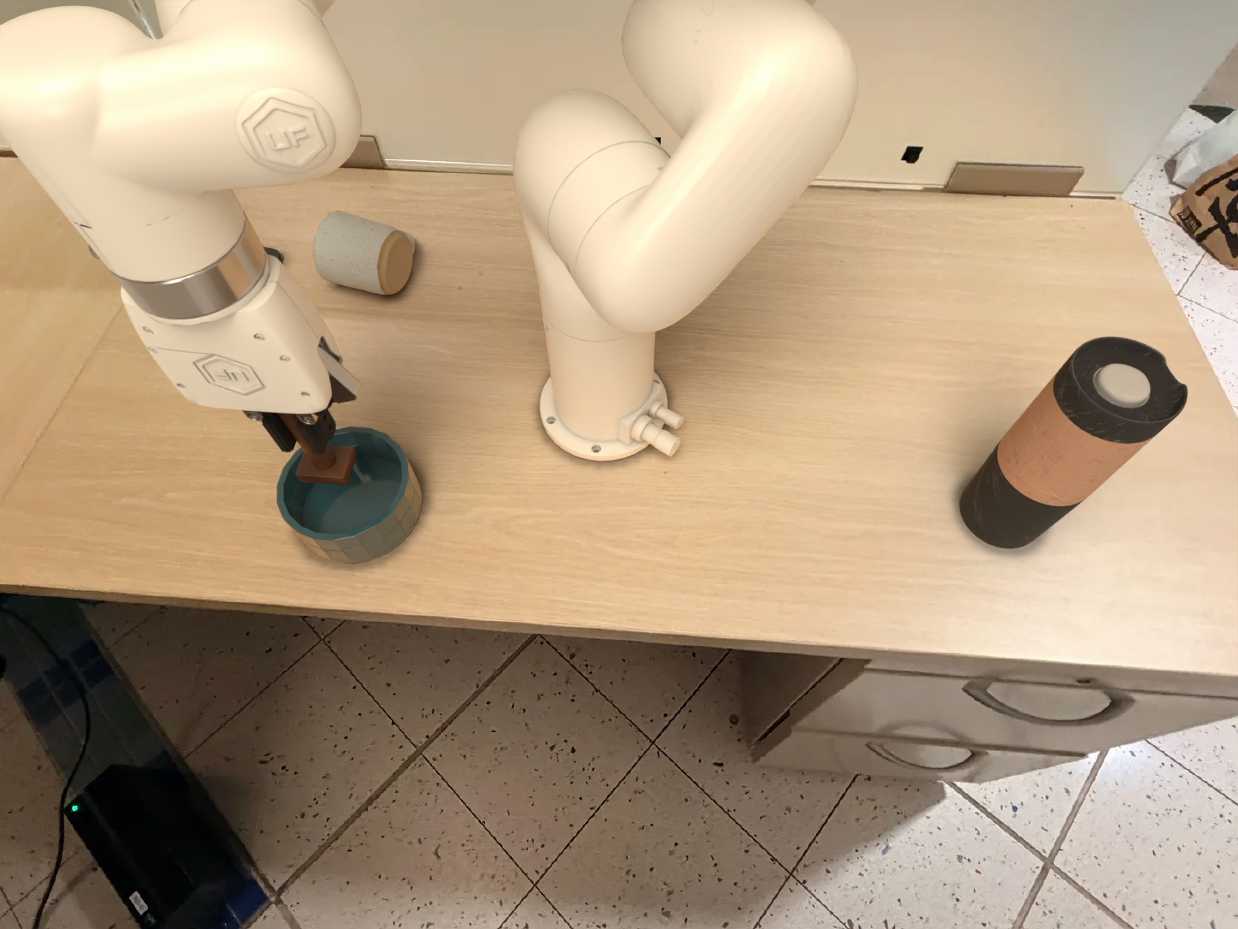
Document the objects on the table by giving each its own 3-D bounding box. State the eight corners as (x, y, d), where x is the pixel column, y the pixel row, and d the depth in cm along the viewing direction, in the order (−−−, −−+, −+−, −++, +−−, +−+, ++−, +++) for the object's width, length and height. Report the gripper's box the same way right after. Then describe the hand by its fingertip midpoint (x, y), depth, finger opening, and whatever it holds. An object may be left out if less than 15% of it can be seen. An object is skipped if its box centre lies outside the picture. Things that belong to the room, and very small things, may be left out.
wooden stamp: (357, 454, 61) (314, 379, 53) (348, 485, 60) (301, 413, 51) (311, 451, 62) (260, 376, 53) (300, 482, 60) (246, 410, 51)
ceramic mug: (394, 311, 79) (374, 257, 73) (327, 296, 81) (301, 241, 74) (435, 246, 85) (419, 190, 78) (371, 233, 86) (350, 177, 80)
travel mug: (943, 524, 66) (1054, 390, 49) (973, 463, 69) (1087, 318, 52) (1027, 567, 64) (1175, 444, 46) (1054, 502, 67) (1202, 364, 50)
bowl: (434, 460, 70) (421, 431, 66) (406, 568, 64) (390, 544, 60) (320, 451, 70) (300, 422, 66) (282, 558, 65) (257, 534, 60)
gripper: (22, 299, 40) (192, 472, 55) (308, 317, 39) (398, 486, 55) (86, 206, 43) (228, 392, 59) (346, 221, 43) (420, 405, 59)
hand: (309, 436), depth 57 cm, fingers closed on wooden stamp
